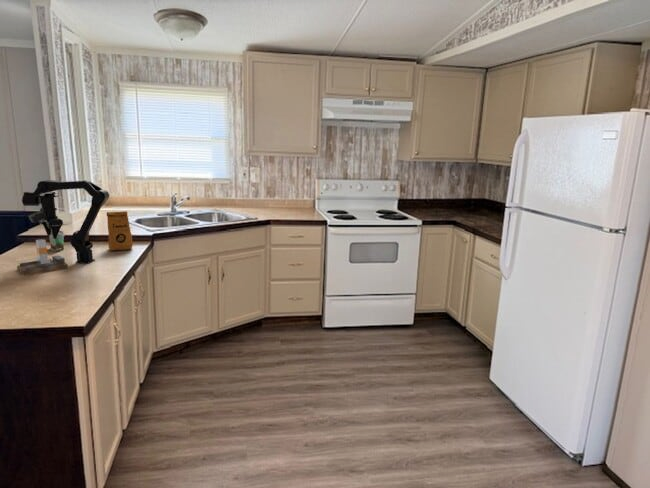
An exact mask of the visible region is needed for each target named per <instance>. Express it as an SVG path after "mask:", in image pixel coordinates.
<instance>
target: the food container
mask: <svg viewBox="0 0 650 488" xmlns="http://www.w3.org/2000/svg"><path fill="white" fill-rule="evenodd" d="M64 237H65V232H64V231H63V230H59V233H58V235H57V238H56V239H54V238H53V235H52V232H51V234H50V236H48V238H49V243H50V244H49V245H50V249H51V250H52V251H54V252H56V253H57V252H61V251H64V249H65V245H64V243H65V242H64V241H65V240H64Z"/></svg>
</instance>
